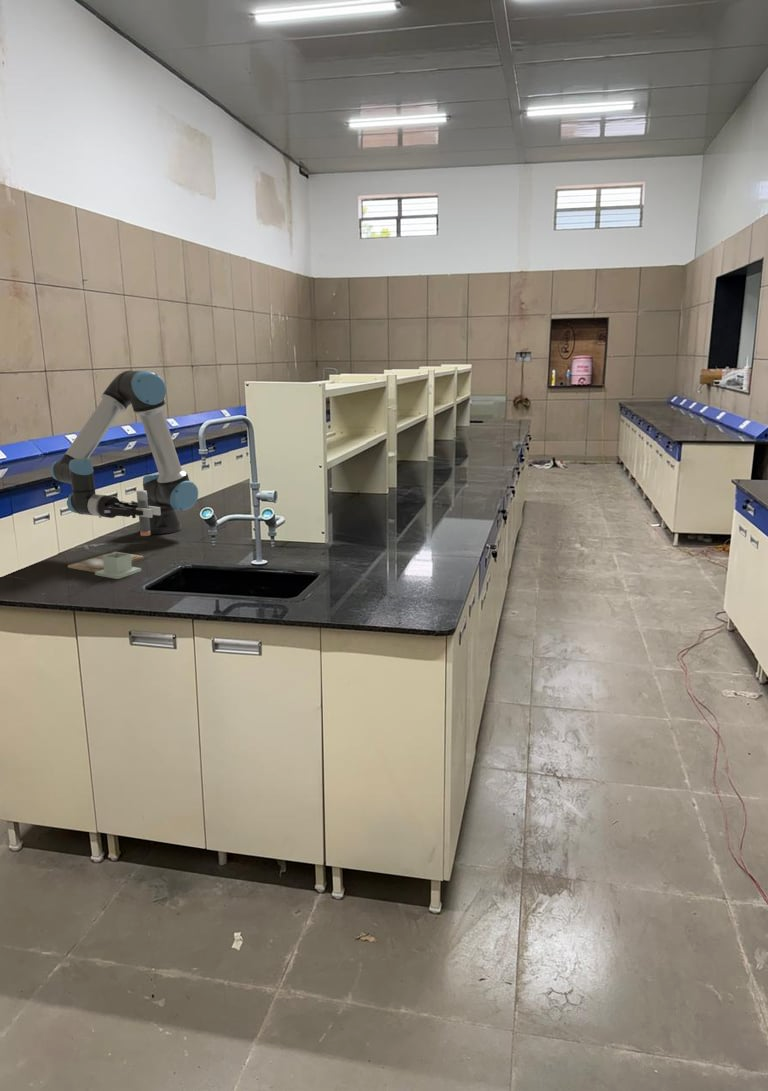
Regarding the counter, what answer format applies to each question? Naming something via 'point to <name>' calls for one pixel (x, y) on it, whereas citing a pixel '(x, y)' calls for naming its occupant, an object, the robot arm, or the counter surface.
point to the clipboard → (97, 563)
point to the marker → (143, 521)
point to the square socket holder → (117, 566)
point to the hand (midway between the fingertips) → (155, 512)
